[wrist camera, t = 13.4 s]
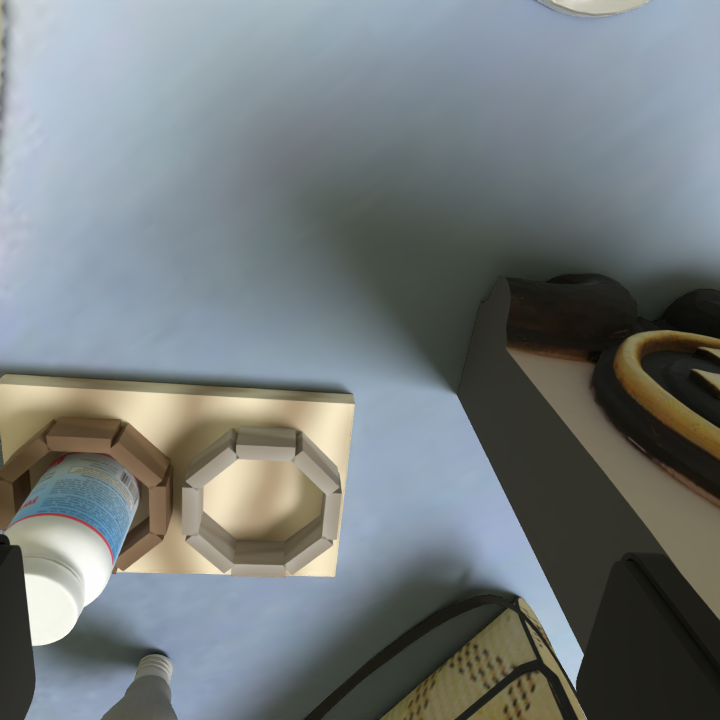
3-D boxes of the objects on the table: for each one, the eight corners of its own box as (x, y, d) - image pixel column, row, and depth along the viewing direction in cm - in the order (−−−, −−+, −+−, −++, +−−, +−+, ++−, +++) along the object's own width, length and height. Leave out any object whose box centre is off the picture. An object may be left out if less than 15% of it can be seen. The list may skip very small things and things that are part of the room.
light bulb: (208, 646, 49) (187, 771, 40) (178, 698, 51) (151, 829, 42) (134, 622, 48) (95, 747, 38) (105, 677, 49) (61, 808, 40)
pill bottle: (47, 437, 40) (-42, 554, 29) (146, 449, 40) (95, 566, 30) (46, 517, 42) (-38, 653, 31) (140, 526, 43) (90, 661, 32)
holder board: (352, 394, 42) (358, 422, 38) (333, 562, 47) (336, 601, 43) (5, 374, 39) (-26, 401, 36) (24, 555, 44) (0, 596, 41)
